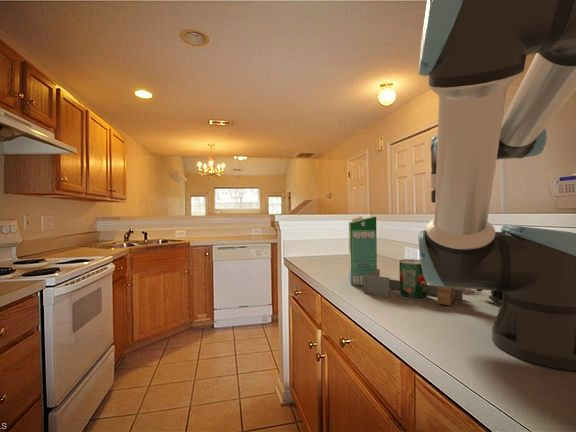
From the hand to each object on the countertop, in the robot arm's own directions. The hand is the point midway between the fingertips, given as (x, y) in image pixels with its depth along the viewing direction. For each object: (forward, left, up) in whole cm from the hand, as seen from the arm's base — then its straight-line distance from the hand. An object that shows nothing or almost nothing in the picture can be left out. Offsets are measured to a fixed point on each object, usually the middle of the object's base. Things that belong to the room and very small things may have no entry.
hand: (446, 269), depth 81 cm
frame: (0, +10, -10) cm, 14 cm away
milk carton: (+7, +29, -10) cm, 31 cm away
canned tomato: (0, +9, -10) cm, 13 cm away
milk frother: (+7, -14, -10) cm, 19 cm away
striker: (0, 0, -10) cm, 10 cm away
